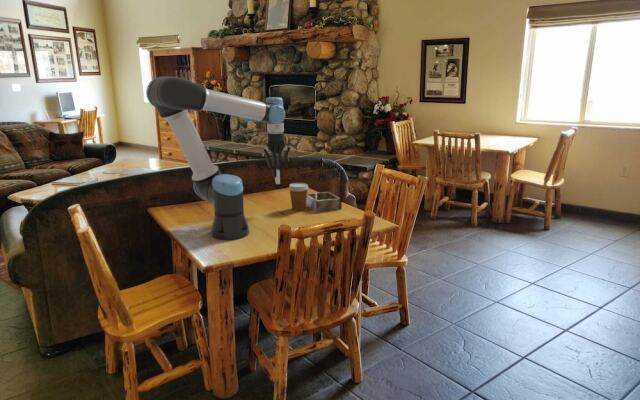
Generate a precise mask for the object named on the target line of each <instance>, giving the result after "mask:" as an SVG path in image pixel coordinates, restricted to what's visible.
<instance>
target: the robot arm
mask: <svg viewBox="0 0 640 400" xmlns="http://www.w3.org/2000/svg"><path fill="white" fill-rule="evenodd" d="M145 91H146V94H145V95H146V99H147V100H148V102H149V103H150V104H151V105H152V107H155V109H156V111H157V113H158V114H159V117H160V118H161V119H163V120H165V121H167V124H168V125H169V127H170V129H171V132H172V134H173V135H174V137H175V139H176V142H177V143H178V147H179V148H180V150H181V151H182V153H183V156H184V157H185V160H186V161H187V163H188V165H189V167H190V169H191V171H192V175H191V180H192V182H193V185H192V186H193V190H194V193H195V194H196V196H198V198H200V199H201V200H203V201H206V202H209V203H210V204H213V210H214V214H213V215H214V216H213V221H212V224H211V228H210V234H211V237H212V238H214V239H218V240H225V241H227V240H228V241H229V240H237V239H241V238H245V237H246V236H248V235H249V234H250V227H249V224H248V221H247V219H246V216H245V208H244V186H243V185H244V184H243V181H242V178H240V177H239V176H237V175H234V174H230V173H229V174H227V173H223V174H222V173H221V170H220V169H219V166H218V165H216V164H213V162H212V160H211V158H210V155H209V153H208V151H207V149H206V148H205V146H204V143H203V141H202V139H201V137H200V135H199V132H198V130H197V128H196V126H195V124H194V122H193V120H192V118H191V115H190V113H189V111H195V112H201V111H203V110H204V111H208V112H209V111H210V112H214V113H219V114H224V115H230V116H234V117H239V118H242V120H243V121H244V122H247V123H248V122H251V123H252V122H261V123H266V131H267V144H266V147H264V148H262V150H261V151H262V152H263V153H264V156H265V160H266V163H267V166H268V169H270V170H272V177H274V182H275V184H276V185H280V184H281V177H282V176H283V173H282V172H283V171H282V170H283V169H286V167H287V162H288V161H287V160H288V158H289V157H288V156H289V152H290V150H291V147H289V146H287V145H286V143H285V133H284V132H285V128H284V126H285V125H284V124H285V123H284V120H285V118H286V111H285V108H284V100H283V98H282V97H273V96H272V97H266V98H265V102H263V101H259V100H255V99H250V98H247V97H242V96H239V95H234V94H231V93H230V94H229V93H227V92H226V93H225V92H221V91H218V90H212V89H208V88H206V86H205V85H203V84H201V83H196V82H194V81H190V80H187V79H184V78H182V77H178V76H162V75H161V76H158V77H155V78H153V79H151V80H150V82H149V83H148V85H147V86H146V90H145ZM269 151H270V153H271V158H270V154H269ZM282 152H283V153H282ZM282 154H283V156H282Z"/></svg>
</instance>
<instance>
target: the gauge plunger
mask: <svg viewBox="0 0 640 400" xmlns="http://www.w3.org/2000/svg"><path fill="white" fill-rule="evenodd" d="M314 193H315V199H314V198H312V197H311V196H309V195H307V200H306V208H307V207H308V209H310V210H311V211H313V212H314V211H315V212H317V207H316V200H317V193H318V192H317V191H316V192H314Z"/></svg>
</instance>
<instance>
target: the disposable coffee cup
mask: <svg viewBox="0 0 640 400" xmlns="http://www.w3.org/2000/svg"><path fill="white" fill-rule="evenodd" d="M308 185H309V184H307V183H304V182H293V183H290V184H289V187H288V190H289V194H290V195H289V196H290V201H291V208H292V210H293V211H295V212H296V211H297V212H302V211H305V210H306V209H307V206H306V200H307V194H308V190H309V186H308Z"/></svg>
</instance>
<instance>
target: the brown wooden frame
mask: <svg viewBox="0 0 640 400" xmlns="http://www.w3.org/2000/svg"><path fill="white" fill-rule="evenodd" d="M307 195H309V196H311V197H312V198H314V199H315V192H313V193H307ZM342 203H343V200H342V198H341V197H339V196H337V195H335V194H333V193H332V192H330V191H323V192H317V200H316V207H317V211H316V212H317V213H321V212H329V211H338V210H342V209H343V208H342V206H343V205H342Z"/></svg>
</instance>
